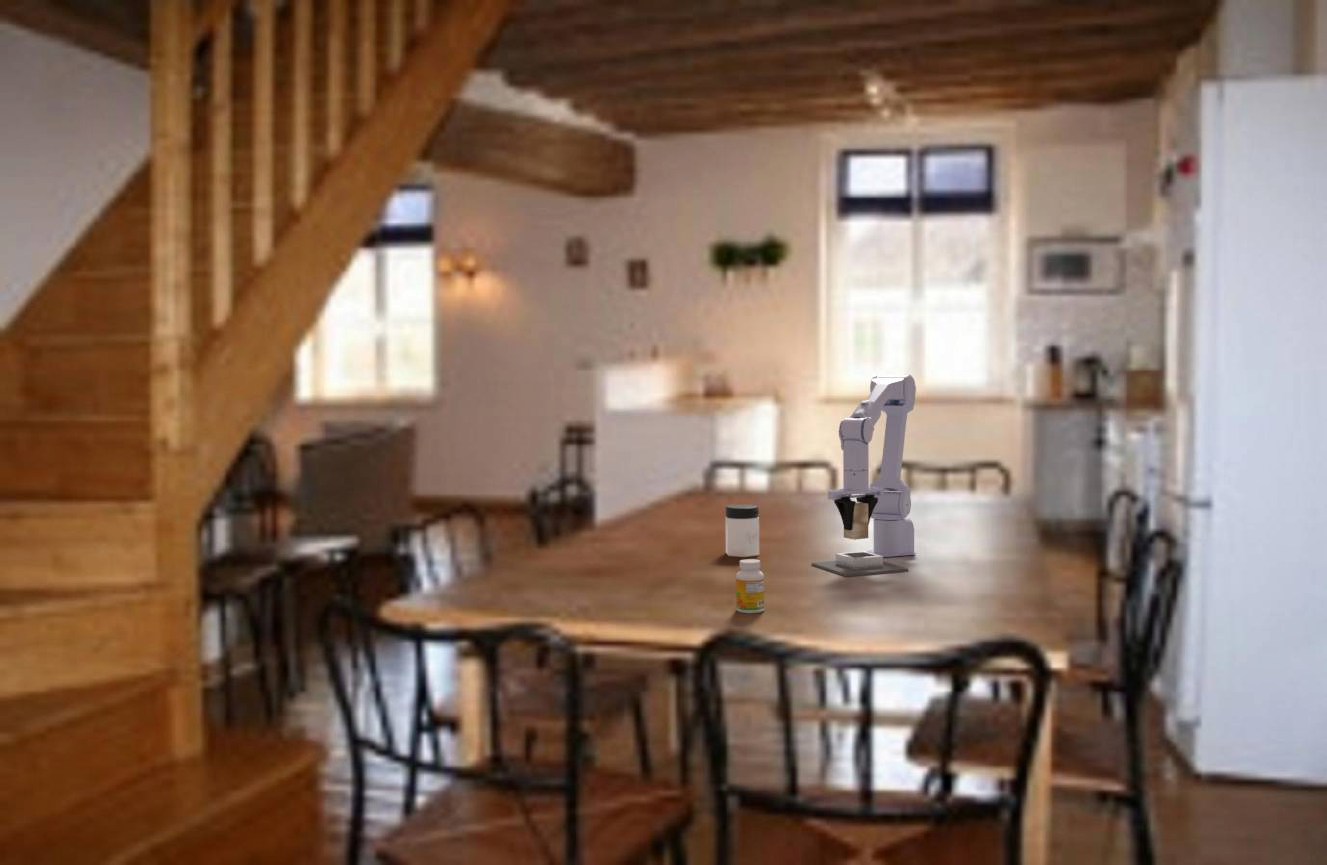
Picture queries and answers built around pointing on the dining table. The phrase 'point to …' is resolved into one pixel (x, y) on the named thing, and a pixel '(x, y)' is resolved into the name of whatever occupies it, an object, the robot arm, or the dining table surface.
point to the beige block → (859, 522)
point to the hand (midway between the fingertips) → (856, 528)
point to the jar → (742, 530)
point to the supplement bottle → (750, 587)
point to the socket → (859, 560)
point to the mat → (848, 572)
